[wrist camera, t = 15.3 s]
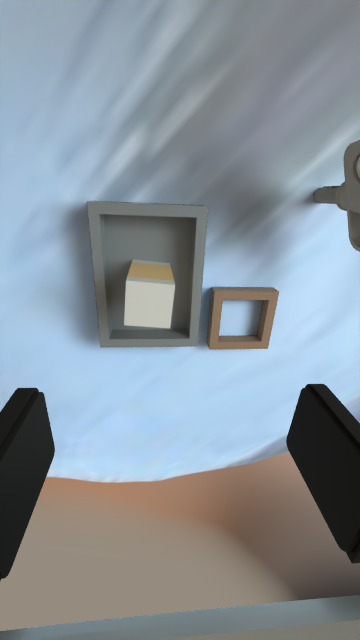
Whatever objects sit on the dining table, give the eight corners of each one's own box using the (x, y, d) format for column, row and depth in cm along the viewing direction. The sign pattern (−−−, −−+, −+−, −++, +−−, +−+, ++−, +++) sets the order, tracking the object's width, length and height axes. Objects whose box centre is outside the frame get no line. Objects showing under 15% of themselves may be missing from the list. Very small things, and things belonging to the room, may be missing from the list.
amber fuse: (132, 259, 29) (125, 280, 22) (169, 263, 30) (175, 285, 22) (130, 294, 31) (124, 325, 23) (166, 297, 31) (170, 328, 24)
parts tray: (93, 201, 27) (86, 201, 24) (202, 205, 28) (208, 206, 25) (104, 334, 33) (100, 347, 30) (194, 334, 34) (197, 346, 32)
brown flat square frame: (212, 286, 32) (214, 291, 30) (273, 287, 33) (279, 291, 31) (206, 342, 35) (209, 349, 33) (263, 342, 36) (267, 348, 34)
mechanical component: (313, 246, 31) (379, 267, 22) (300, 146, 27) (376, 120, 18) (338, 236, 31) (416, 254, 22) (329, 134, 26) (421, 102, 17)
